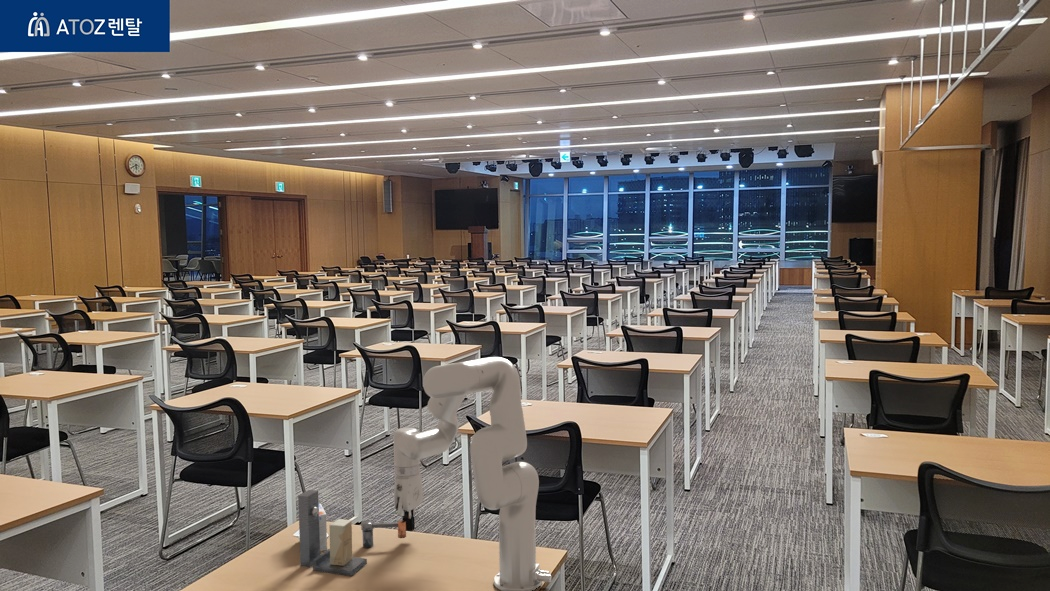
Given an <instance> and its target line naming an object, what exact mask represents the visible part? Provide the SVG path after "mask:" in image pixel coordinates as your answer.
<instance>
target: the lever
mask: <svg viewBox="0 0 1050 591" xmlns="http://www.w3.org/2000/svg"><path fill="white" fill-rule="evenodd" d="M360 528H361V531H362V530H363V531H370V530H373V531H374V529H376V528H377V529H378V528H379V529H383V528H397V538H398V539H405V538H407V531H406V521H404V520H398V521H395V522H394V521H393V522H375V521H373V520H364V521H361V523H360Z"/></svg>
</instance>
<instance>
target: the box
mask: <svg viewBox="0 0 1050 591" xmlns="http://www.w3.org/2000/svg"><path fill="white" fill-rule="evenodd" d="M352 524H353V523H352V520H351V519H342V518H338V519H336V520H335V521H333V522H332V523H330V524H329V549H330V564H332V565H341V566H344V565H345V564H347V563H348V562H349V561H350V560H352V557H353V531H352V530H353V527H352V526H353V525H352Z"/></svg>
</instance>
